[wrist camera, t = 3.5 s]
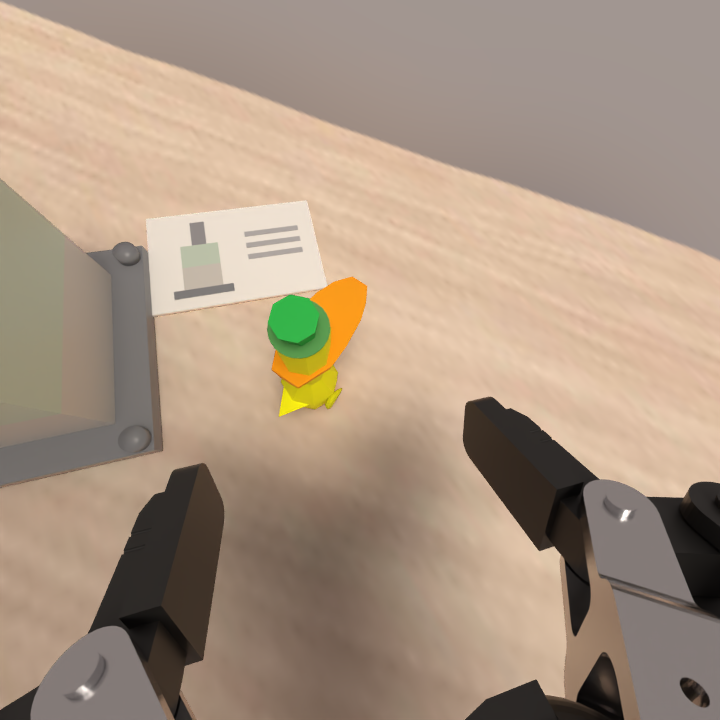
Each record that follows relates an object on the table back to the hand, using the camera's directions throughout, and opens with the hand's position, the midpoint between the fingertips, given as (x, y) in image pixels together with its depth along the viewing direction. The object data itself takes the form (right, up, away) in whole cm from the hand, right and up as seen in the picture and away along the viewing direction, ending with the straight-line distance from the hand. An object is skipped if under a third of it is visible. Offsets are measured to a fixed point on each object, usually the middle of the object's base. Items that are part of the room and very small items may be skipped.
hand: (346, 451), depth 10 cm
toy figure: (-2, +1, +12) cm, 12 cm away
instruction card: (-9, +11, +14) cm, 20 cm away
